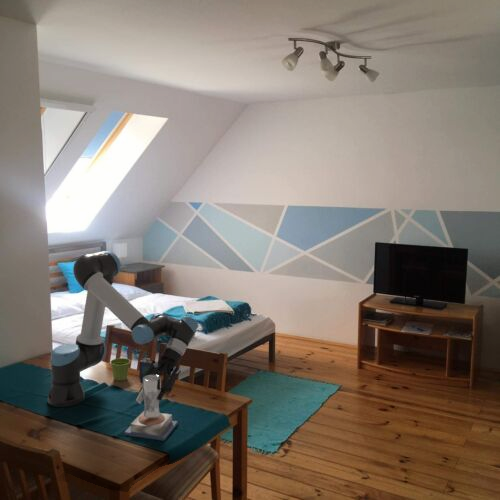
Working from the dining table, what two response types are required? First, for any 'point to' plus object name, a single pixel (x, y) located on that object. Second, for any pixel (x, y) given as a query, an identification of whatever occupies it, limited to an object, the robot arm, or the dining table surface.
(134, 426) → the plinth
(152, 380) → the silver metal cup
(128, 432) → the grey flat slab
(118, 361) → the plant pot
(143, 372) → the flask
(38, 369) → the dining table surface
